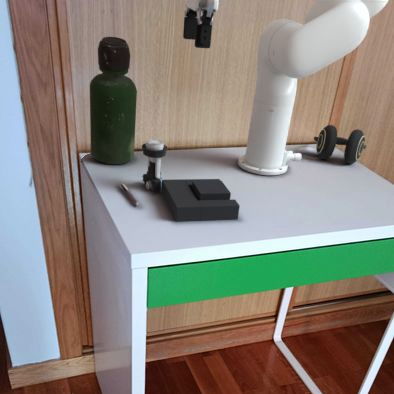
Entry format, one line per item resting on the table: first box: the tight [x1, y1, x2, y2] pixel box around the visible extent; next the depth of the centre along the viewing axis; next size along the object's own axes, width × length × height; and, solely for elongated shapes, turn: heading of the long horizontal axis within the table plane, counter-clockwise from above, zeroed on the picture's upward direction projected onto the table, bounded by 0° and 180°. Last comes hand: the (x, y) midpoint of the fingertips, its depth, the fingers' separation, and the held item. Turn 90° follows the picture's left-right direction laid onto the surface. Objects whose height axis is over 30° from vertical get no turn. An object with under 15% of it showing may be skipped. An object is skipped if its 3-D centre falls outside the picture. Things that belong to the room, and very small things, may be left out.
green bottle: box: [89, 36, 138, 165], centre depth 113 cm, size 10×10×25 cm
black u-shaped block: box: [160, 178, 241, 223], centre depth 104 cm, size 13×14×3 cm
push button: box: [141, 138, 168, 194], centre depth 107 cm, size 7×5×10 cm
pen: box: [120, 182, 140, 207], centre depth 105 cm, size 11×1×1 cm, turn 25°
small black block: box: [192, 180, 232, 200], centre depth 105 cm, size 6×6×4 cm
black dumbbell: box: [313, 124, 367, 165], centre depth 138 cm, size 9×15×20 cm
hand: (196, 43), depth 105 cm, fingers open, 9 cm apart
